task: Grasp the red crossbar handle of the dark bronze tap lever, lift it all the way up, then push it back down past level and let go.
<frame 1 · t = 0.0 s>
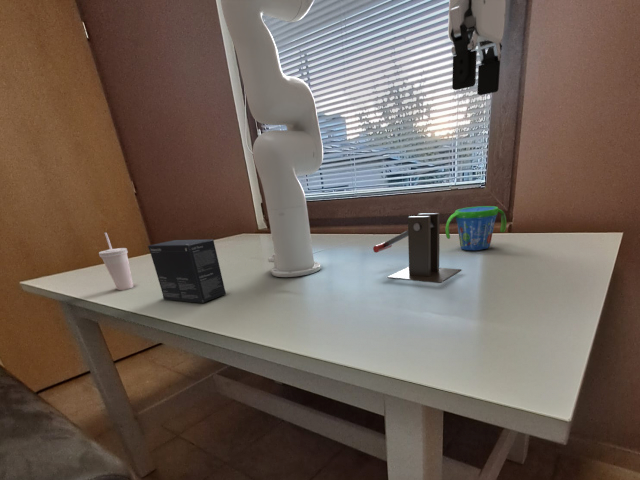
hand: (476, 90, 57), 31 cm above the table, tool pointing down, fingers open, 9 cm apart
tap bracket: (424, 278, 79), on the table
smoothie: (125, 288, 98), on the table
snack cup: (474, 249, 102), on the table
small box: (195, 297, 84), on the table
tap lever: (403, 235, 79), point 9 cm above the table, hinge at -25.0°
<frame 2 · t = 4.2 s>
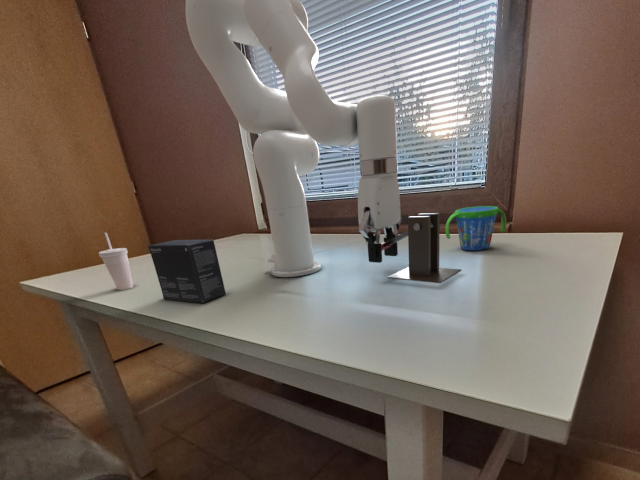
hand: (383, 257, 84), 4 cm above the table, tool pointing down, fingers closed on tap lever, 5 cm apart
tap lever: (403, 235, 79), point 9 cm above the table, hinge at -25.0°, touching gripper
everything else where it was.
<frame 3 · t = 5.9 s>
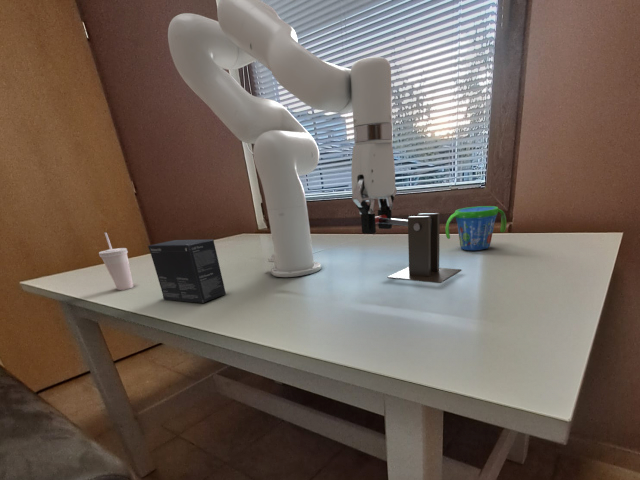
hand: (377, 230, 82), 10 cm above the table, tool pointing down, fingers closed on tap lever, 5 cm apart
tap lever: (401, 222, 78), point 11 cm above the table, hinge at 5.1°, touching gripper
everything else where it was.
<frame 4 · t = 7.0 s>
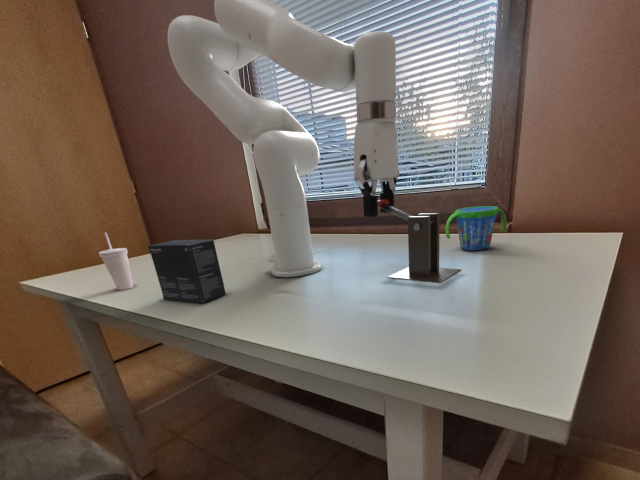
hand: (379, 213, 80), 13 cm above the table, tool pointing down, fingers closed on tap lever, 5 cm apart
tap lever: (402, 214, 77), point 13 cm above the table, hinge at 22.2°, touching gripper
everything else where it was.
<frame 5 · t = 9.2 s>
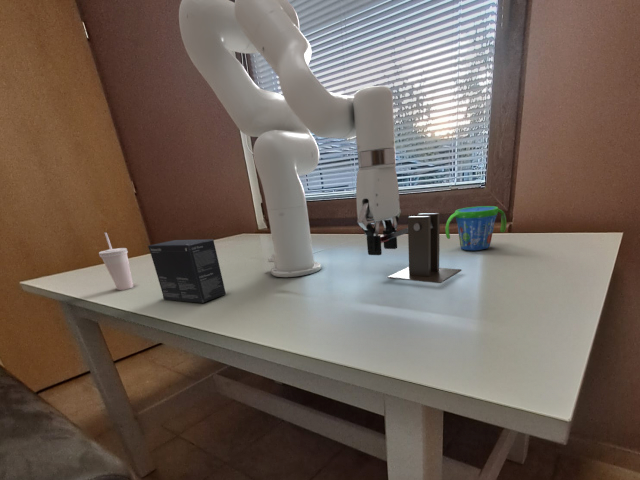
hand: (382, 250, 83), 5 cm above the table, tool pointing down, fingers closed on tap lever, 5 cm apart
tap lever: (402, 232, 78), point 9 cm above the table, hinge at -17.1°, touching gripper
everything else where it was.
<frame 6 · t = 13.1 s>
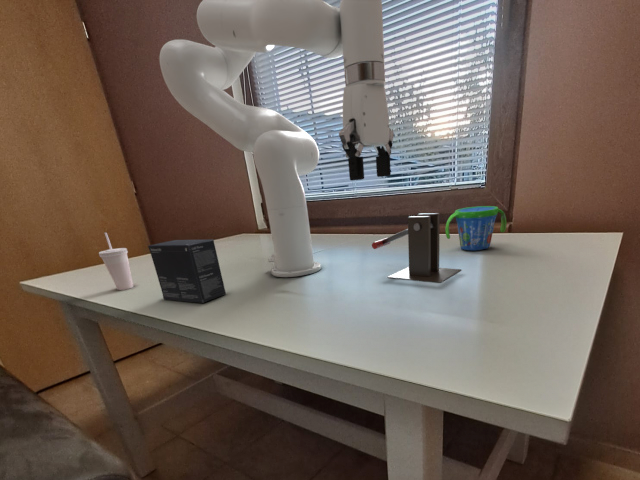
hand: (370, 178, 78), 20 cm above the table, tool pointing down, fingers open, 9 cm apart
tap lever: (402, 233, 78), point 9 cm above the table, hinge at -21.0°
everything else where it was.
at the end: tap lever reached +22° during the clip, -21° at the end; tap lever at -21° (first picture: -25°) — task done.
